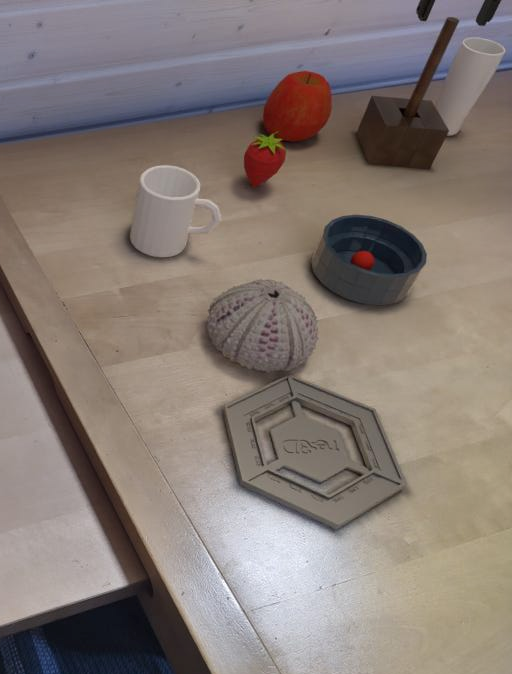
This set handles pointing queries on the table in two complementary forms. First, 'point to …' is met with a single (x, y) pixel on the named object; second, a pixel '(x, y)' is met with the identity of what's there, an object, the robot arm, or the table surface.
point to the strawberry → (263, 159)
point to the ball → (363, 260)
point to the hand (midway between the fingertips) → (450, 21)
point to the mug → (168, 211)
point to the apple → (298, 106)
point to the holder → (401, 133)
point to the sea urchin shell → (263, 326)
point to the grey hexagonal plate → (312, 451)
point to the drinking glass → (467, 80)
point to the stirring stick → (431, 66)
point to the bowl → (387, 249)
